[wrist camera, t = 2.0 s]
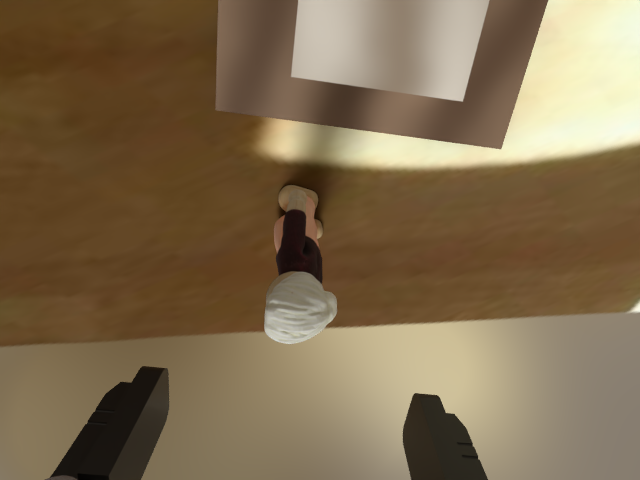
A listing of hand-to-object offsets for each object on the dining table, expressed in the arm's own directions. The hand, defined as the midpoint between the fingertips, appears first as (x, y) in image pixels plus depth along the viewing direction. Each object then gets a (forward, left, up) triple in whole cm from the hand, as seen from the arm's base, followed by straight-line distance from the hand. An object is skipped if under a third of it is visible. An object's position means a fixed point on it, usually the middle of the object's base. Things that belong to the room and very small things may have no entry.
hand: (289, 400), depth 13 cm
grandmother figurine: (0, 0, -17) cm, 17 cm away
